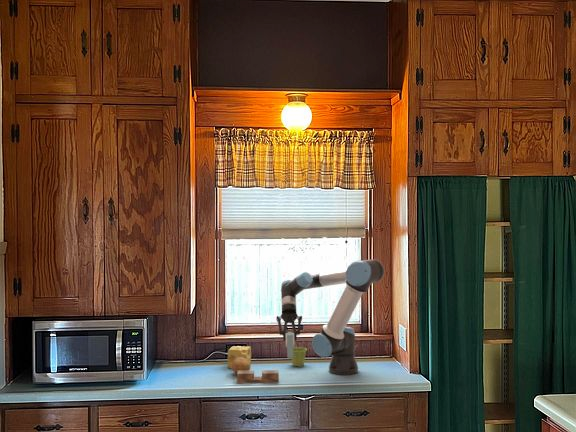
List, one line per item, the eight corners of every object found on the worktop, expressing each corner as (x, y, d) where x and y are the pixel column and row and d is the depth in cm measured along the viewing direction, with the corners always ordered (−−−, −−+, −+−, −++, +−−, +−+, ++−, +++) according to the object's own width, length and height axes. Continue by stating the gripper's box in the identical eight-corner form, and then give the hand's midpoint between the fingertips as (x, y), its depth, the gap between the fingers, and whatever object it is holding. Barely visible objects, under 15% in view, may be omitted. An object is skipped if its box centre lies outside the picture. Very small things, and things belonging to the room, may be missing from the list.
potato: (233, 378, 327) (233, 362, 327) (230, 371, 341) (230, 356, 341) (252, 377, 329) (252, 361, 329) (249, 370, 342) (249, 355, 342)
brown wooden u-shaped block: (278, 379, 324) (278, 370, 324) (278, 382, 318) (278, 373, 318) (237, 379, 324) (237, 370, 324) (237, 382, 318) (237, 373, 318)
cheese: (246, 369, 346) (246, 350, 346) (226, 368, 348) (226, 349, 348) (251, 364, 356) (251, 346, 356) (232, 363, 358) (232, 345, 358)
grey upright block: (287, 354, 328) (286, 332, 328) (292, 354, 328) (292, 332, 328) (287, 357, 320) (287, 335, 320) (293, 357, 320) (292, 335, 320)
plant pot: (286, 364, 356) (286, 348, 356) (302, 362, 360) (302, 346, 360) (293, 368, 347) (293, 351, 347) (309, 366, 351) (309, 350, 351)
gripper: (304, 311, 342) (306, 349, 325) (273, 311, 341) (273, 350, 325) (304, 302, 336) (306, 341, 320) (273, 302, 336) (273, 341, 319)
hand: (290, 345), depth 322 cm, fingers closed on grey upright block, 3 cm apart
